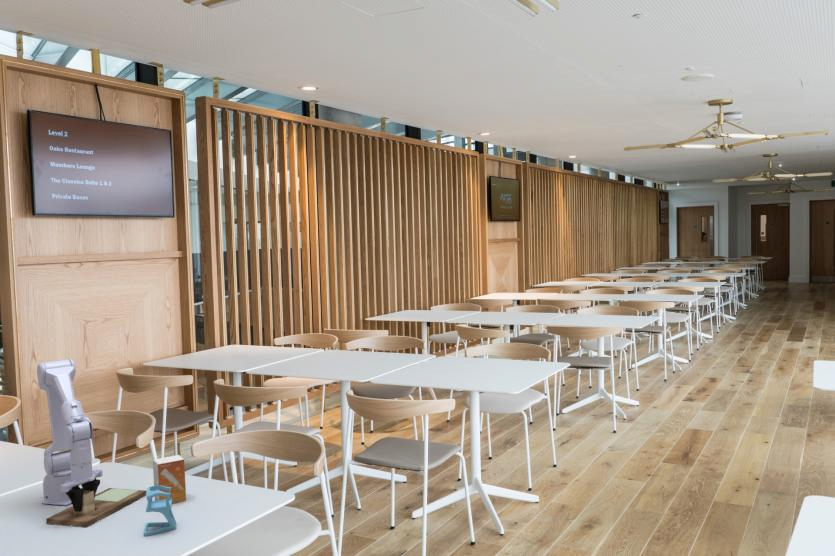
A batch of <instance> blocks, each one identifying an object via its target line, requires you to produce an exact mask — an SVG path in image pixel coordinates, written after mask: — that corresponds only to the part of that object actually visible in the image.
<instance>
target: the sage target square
mask: <svg viewBox="0 0 835 556" xmlns="http://www.w3.org/2000/svg"><path fill="white" fill-rule="evenodd" d="M126 489H127V488H116V489H110V490H108V491H106V492H104V493H102V494H100V495H98V496H96V497H95V499H94V501H103V502H116V503H117V502H119V501H121V500H123V499H125V498H127V497H129V496H131V495H133V494H135V493H137V492H138V491H139V490H140V489H130V490H126Z"/></svg>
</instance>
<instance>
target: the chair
mask: <svg viewBox="0 0 835 556" xmlns="http://www.w3.org/2000/svg"><path fill="white" fill-rule="evenodd" d="M157 489H164V490H167V491H168V492H167V493H165V492H163V491H159V490H157ZM170 490H171V487H166V486H162V485H155V486H154V485H151V486H149V487H147V488H146V490H145V491H146V496H145V497H146V501H147V503H146V507H145V512H146V513H152V512H154V513H161V514H162V515H163V516H164V517H165V519H166V521H158V522H157V521H156V522H155V521H151V522H145V524H144V530H143V537H148V536H152V535H155V534H160V533H163V532H167V531H172V530H175V529H177V521H176V519H175V516H174V513H173V511H172V505H173V503H172V499H170V494H171V493H170ZM159 495H160V496H165V497H167V499H165V500H158V501H155V500H153V498H155V496H159ZM149 527H160V528H155V529H152V530H148V528H149Z"/></svg>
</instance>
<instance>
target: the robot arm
mask: <svg viewBox="0 0 835 556" xmlns="http://www.w3.org/2000/svg"><path fill="white" fill-rule="evenodd" d="M36 375H37V376H36V377H37V384H38V387H39V389H40V390H43V391H45V394H46V399H47V406H48V414H49V422H50V423H49V424H50V432H51V437H52V438H51V439H52V443H50V444H49V445H48V446H47V447H46V449H44V451H43V466H44V467H43V468H44V472H45V473H46V474H45V476H44V477H43V480H42V488H43V489H42V490H43V501H41V504H43V505H54V506H55V505H57V506H69V505H72V506H73V508H74V510H75V511H77V512H81V511H82V507H83V503H82V500H83V494H84V490H87V491H94V499H95V495H96V494H97V491H98V488H99V486H100V484H101V479H97V478H101V477H103V469H95V470H93V459H92V446H91V445H92V442H91V440H92V439H93V437H94V429H93V428H94V427H93V423H92V421H91V420H90V419H89V417H88V416H86V413H85V411H84V409H83V405H82V402H81V401H80V400H77V399H76V394H75V392H74V387H73V383H72V382H74V380H75V376H76V365H75V361H74V360H73V359H72V358H68V359H62V360H53V361H47V362H39V363H38V365H37V367H36ZM64 450H65V451H64Z"/></svg>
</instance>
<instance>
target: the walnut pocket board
mask: <svg viewBox="0 0 835 556" xmlns="http://www.w3.org/2000/svg"><path fill="white" fill-rule="evenodd" d="M110 489H117V488H112V487H108V488H106V489H104V490H102V491H100V492H99V493H96V494H95V497H96V496H98V495H100V494H102V493H104V492H106V491H108V490H110ZM125 489H126V490H131V489H129V488H125ZM138 490H139V491H138V492H137V493H135V494H133V495H131V496H129V497H127V498H125V499H123V500H121V501H119V502H117V503H116V502H103V501H94V505H95V511H93V512H91V513H89V514H87V515H74V512H73V505H72V506H69V507H68V508H65V509H63V510H61V511H59V512H57V513H55V514H53V515H51V516H48V517H47V518H46V519H45V520H46V521H45V522H46V525H47V524H48V525H55V524H56V525H58V526H66V525H70V527H78V526H83V527H82V528H89V527H90V526H92V525H94V524H96V523H98V522H100V521H102V520H103V519H105V518H107V517H109V516H111V515H113V514H114V513H116V512H118V511H120V510H122V509H124V508H125V507H127V506H130V505H131V504H133V503H135V502H137V501H138V500H141V499H142V498H144V497H146V490H143V489H138ZM140 498H141V499H140ZM99 520H100V521H99ZM97 521H98V522H97ZM95 522H96V523H95ZM56 525H55V526H56ZM71 525H72V526H71ZM89 525H90V526H89Z"/></svg>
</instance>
